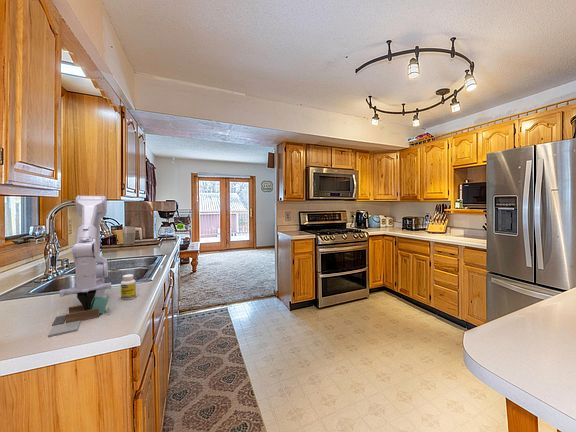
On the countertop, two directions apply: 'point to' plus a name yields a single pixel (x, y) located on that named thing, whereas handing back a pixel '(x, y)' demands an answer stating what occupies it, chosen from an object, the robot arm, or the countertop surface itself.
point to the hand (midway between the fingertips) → (87, 311)
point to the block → (99, 303)
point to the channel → (80, 314)
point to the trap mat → (59, 320)
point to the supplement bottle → (128, 287)
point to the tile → (64, 328)
